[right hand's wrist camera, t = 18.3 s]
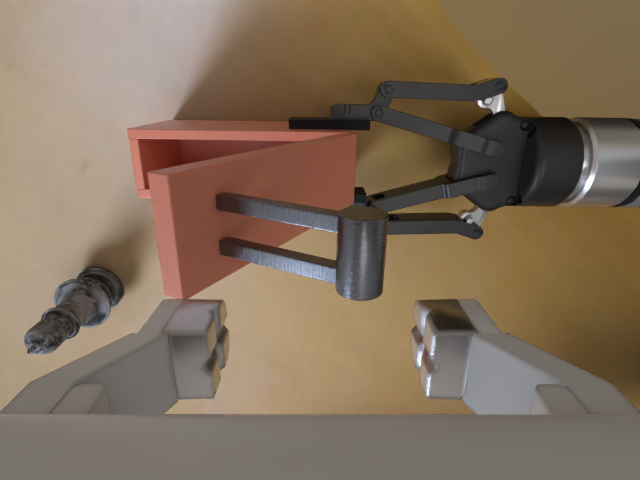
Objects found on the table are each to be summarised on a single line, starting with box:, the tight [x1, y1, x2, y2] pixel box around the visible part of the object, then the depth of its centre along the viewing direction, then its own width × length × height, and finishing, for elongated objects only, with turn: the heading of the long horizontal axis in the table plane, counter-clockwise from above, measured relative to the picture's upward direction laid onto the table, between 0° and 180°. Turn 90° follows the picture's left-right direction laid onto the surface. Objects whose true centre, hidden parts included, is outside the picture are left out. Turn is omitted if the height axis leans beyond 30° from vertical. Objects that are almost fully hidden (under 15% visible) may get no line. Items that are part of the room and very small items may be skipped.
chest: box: [127, 120, 350, 198], centre depth 36 cm, size 17×5×10 cm, turn 89°
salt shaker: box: [24, 268, 123, 355], centre depth 40 cm, size 6×6×12 cm
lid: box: [148, 133, 389, 301], centre depth 21 cm, size 18×5×9 cm
